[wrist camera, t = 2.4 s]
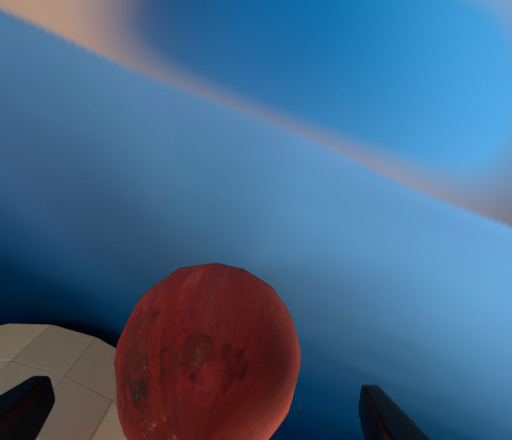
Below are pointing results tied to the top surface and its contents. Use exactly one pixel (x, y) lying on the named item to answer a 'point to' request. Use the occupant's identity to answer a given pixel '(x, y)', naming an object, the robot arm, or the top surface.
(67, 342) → the bowl
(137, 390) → the onion
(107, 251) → the top surface
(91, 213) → the top surface
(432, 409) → the top surface
